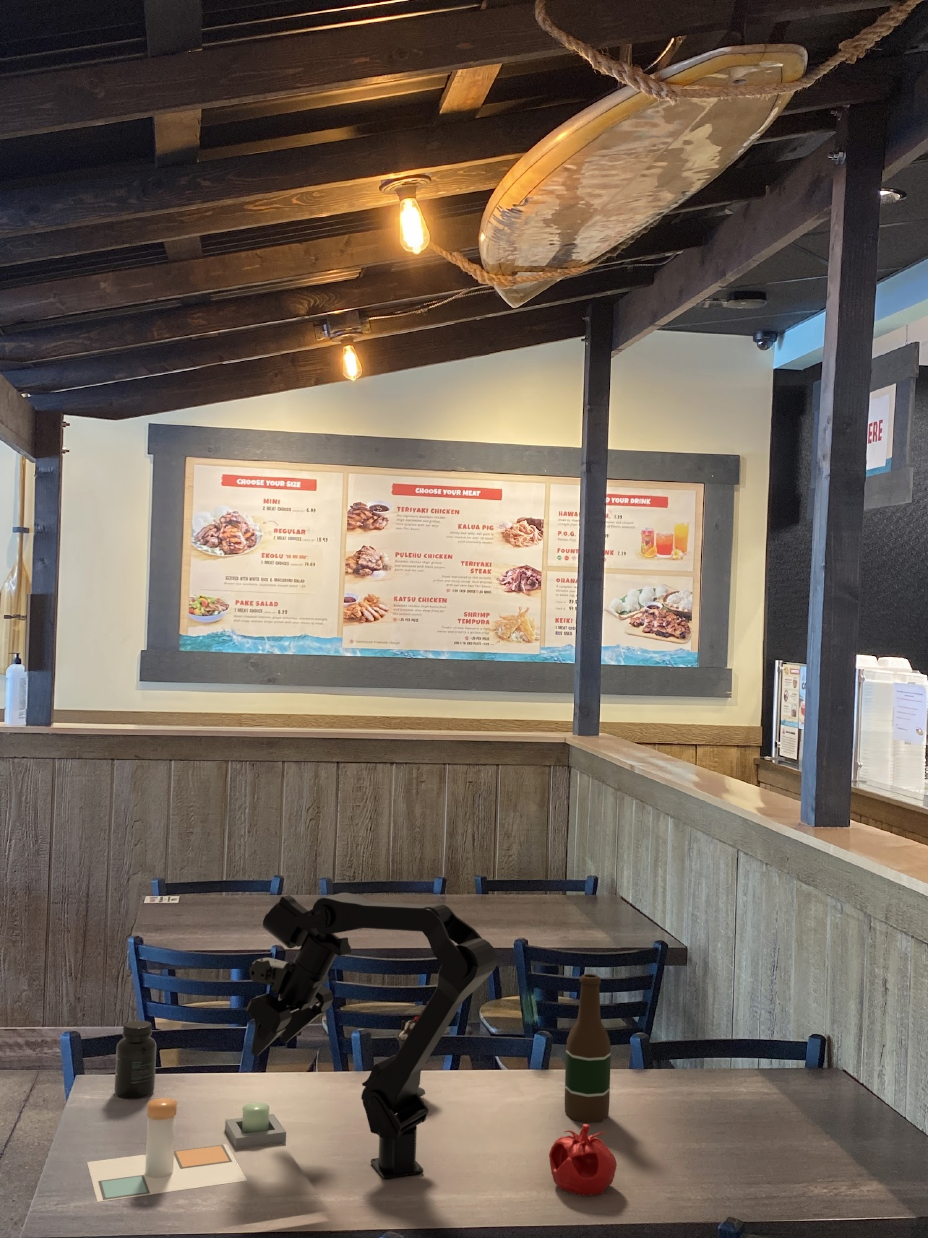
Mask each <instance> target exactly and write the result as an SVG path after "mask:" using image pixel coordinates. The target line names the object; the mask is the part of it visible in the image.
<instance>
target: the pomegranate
mask: <svg viewBox="0 0 928 1238" xmlns="http://www.w3.org/2000/svg"><path fill="white" fill-rule="evenodd" d="M589 1130H590V1124H589V1123H584V1124H583V1125H582V1127H581V1129H580V1131H579V1134H578V1133H576V1132H575V1131H574V1130H570V1129H569V1130H565V1131H563V1133H570V1134H571V1135H565V1136H561V1137H559V1138H558V1139H555V1141H554V1142H553V1144H552V1146H551V1147H550V1150H549V1153H548V1157H549V1166H550V1171H551V1175H552V1179H553V1182H554V1183H555V1185H556V1186H557V1187H558V1188H559V1189H561V1190H562V1191H564V1192H567V1193H568V1192H569V1193H572V1194H575V1195H577V1196H585V1197H588V1196H598V1195H601V1194H603V1193H604V1192H605V1190H606V1189H607V1188H608V1187H609V1186H611V1185H612V1183H613V1181H614V1178H615V1176H616V1175H615V1174H616V1171H617V1166H618V1165H617V1160H616V1157H615V1156H614V1154H613V1152H612V1151H611V1150H610V1149H609V1148H608V1146H607V1145H606V1144H605V1143H604V1140H601V1139H600V1138H598V1137H597V1136H599V1135H605V1134H606V1133H607V1132H597V1133H595V1134H592V1135H589Z"/></svg>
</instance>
